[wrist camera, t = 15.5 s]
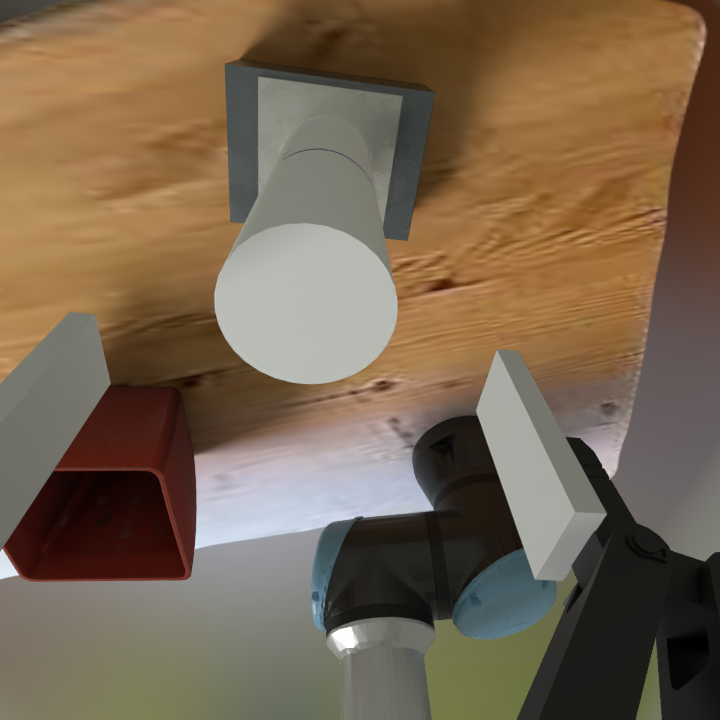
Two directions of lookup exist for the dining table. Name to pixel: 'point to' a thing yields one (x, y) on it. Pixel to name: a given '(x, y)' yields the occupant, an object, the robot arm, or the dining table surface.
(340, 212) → the cylindrical container
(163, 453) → the plant pot
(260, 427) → the dining table surface
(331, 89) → the grey rectangular block
